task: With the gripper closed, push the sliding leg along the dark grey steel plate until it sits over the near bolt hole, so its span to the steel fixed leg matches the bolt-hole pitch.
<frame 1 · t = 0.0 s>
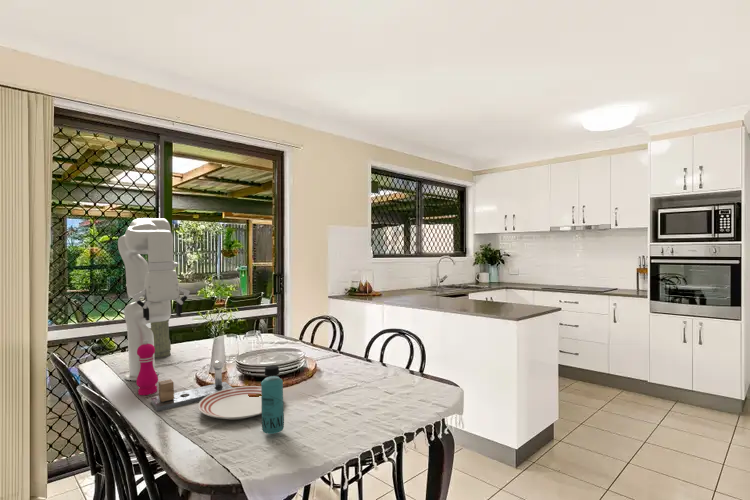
hand: (163, 317, 144), 31 cm above the table, tool pointing down, fingers open, 9 cm apart
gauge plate: (193, 397, 156), on the table
pepper mill: (147, 392, 162), on the table
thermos: (161, 356, 212), on the table
sliding leg: (166, 390, 150), point 5 cm above the table, slide at 0.0 cm
dinner plate: (242, 409, 145), on the table
beverage bottle: (273, 434, 125), on the table
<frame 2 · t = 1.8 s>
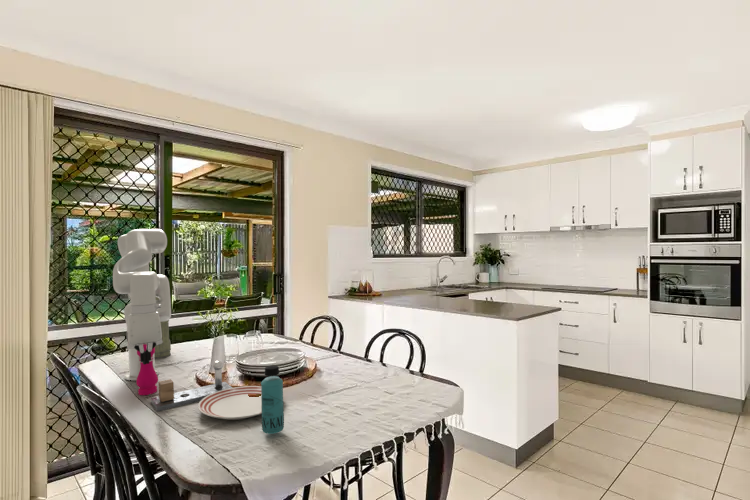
hand: (145, 363, 146), 16 cm above the table, tool pointing down, fingers closed
nothing on the table moved.
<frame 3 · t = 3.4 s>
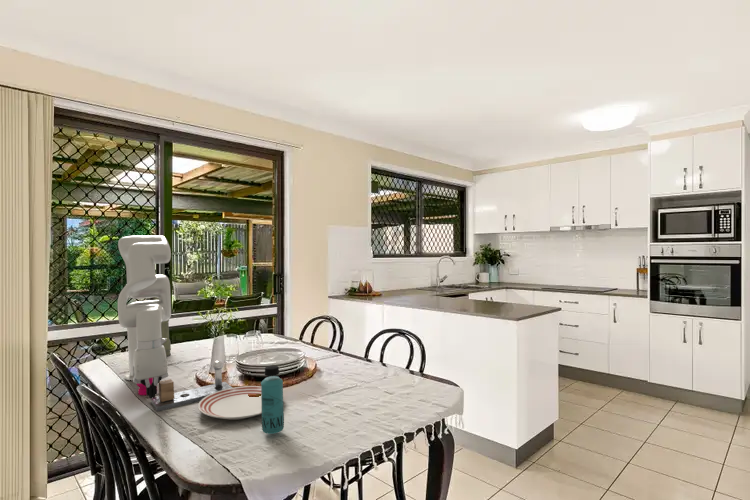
hand: (151, 397, 147), 4 cm above the table, tool pointing down, fingers closed
sliding leg: (166, 390, 150), point 5 cm above the table, slide at 0.1 cm, touching gripper
everything else where it was.
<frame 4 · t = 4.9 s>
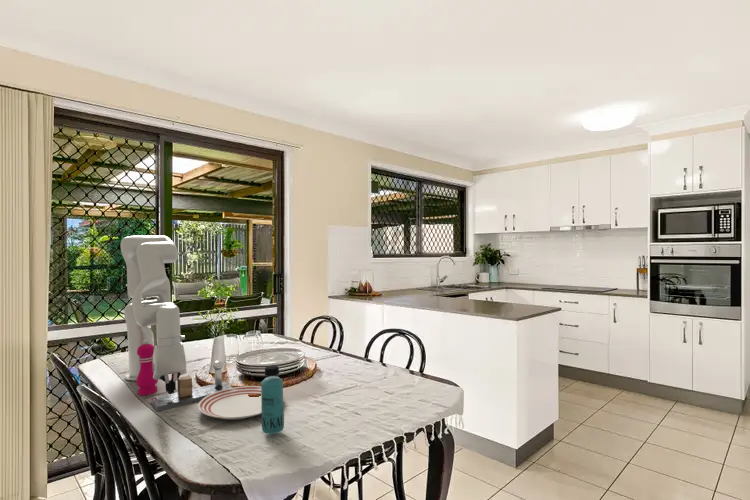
hand: (170, 392, 151), 4 cm above the table, tool pointing down, fingers closed
sliding leg: (184, 386, 154), point 5 cm above the table, slide at 6.1 cm, touching gripper
everything else where it was.
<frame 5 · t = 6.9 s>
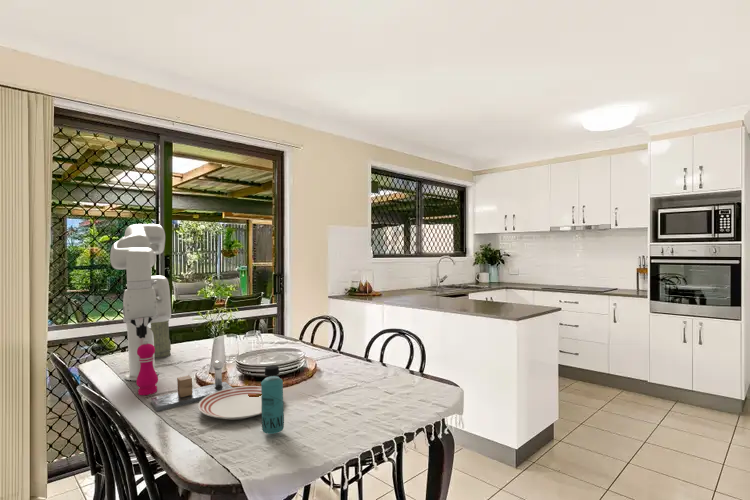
hand: (141, 337, 150), 24 cm above the table, tool pointing down, fingers closed
sliding leg: (184, 386, 154), point 5 cm above the table, slide at 6.1 cm
everything else where it was.
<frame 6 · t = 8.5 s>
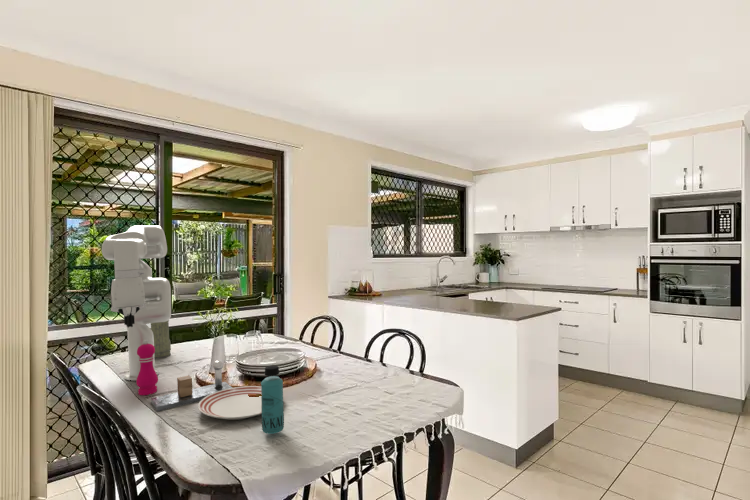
hand: (129, 326, 152), 27 cm above the table, tool pointing down, fingers closed
nothing on the table moved.
at the end: sliding leg slide at 6.1 cm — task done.
